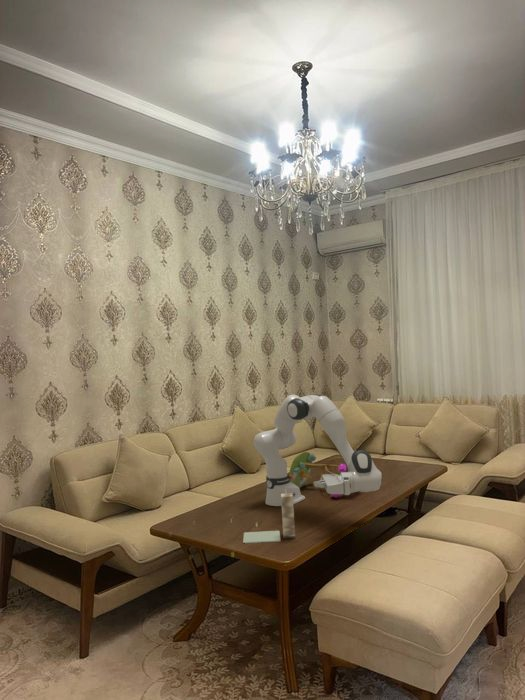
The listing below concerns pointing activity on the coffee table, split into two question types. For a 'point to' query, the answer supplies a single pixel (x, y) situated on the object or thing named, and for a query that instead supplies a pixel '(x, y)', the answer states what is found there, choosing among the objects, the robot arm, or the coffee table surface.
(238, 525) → the coffee table surface
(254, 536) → the sage mat
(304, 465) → the chameleon on flowering branch
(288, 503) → the maple block
